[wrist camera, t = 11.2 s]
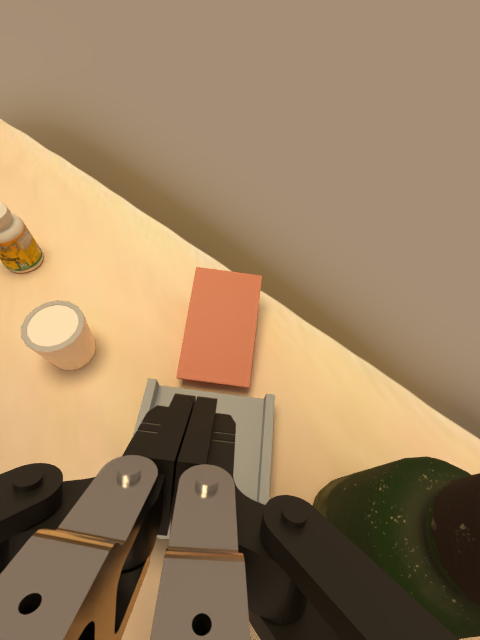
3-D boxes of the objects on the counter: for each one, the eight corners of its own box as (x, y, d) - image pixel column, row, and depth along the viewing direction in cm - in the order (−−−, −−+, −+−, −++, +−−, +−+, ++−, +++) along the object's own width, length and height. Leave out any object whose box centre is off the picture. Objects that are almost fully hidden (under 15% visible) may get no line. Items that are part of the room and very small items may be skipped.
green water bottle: (289, 535, 36) (412, 563, 14) (340, 457, 40) (492, 389, 19) (373, 618, 33) (689, 810, 11) (418, 523, 37) (704, 533, 16)
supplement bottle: (50, 251, 52) (21, 202, 44) (33, 277, 50) (-2, 230, 41) (18, 244, 53) (-17, 193, 44) (-2, 270, 50) (-43, 221, 42)
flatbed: (260, 545, 35) (275, 552, 27) (118, 527, 35) (92, 530, 27) (269, 404, 43) (283, 379, 35) (153, 389, 42) (140, 361, 35)
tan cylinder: (111, 347, 45) (96, 321, 39) (68, 385, 42) (45, 363, 36) (78, 319, 47) (58, 290, 41) (34, 353, 44) (6, 327, 38)
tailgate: (249, 387, 41) (261, 275, 45) (176, 377, 41) (196, 266, 45) (248, 388, 43) (260, 281, 47) (178, 379, 43) (197, 272, 47)
